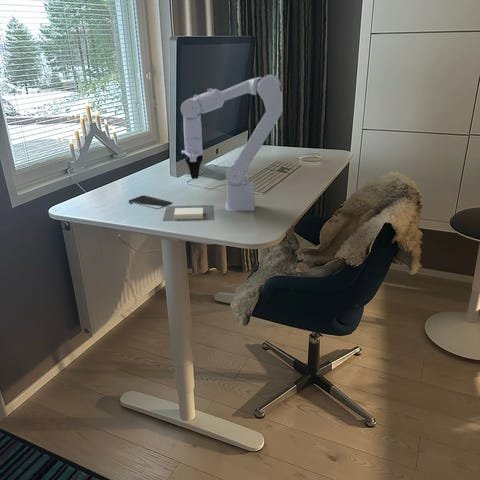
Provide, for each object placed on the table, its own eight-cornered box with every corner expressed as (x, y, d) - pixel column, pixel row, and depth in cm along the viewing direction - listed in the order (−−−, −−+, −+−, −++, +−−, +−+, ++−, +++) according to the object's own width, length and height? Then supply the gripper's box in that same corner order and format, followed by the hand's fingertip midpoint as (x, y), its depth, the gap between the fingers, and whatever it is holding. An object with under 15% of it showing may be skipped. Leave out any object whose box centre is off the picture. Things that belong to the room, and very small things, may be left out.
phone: (157, 209, 151) (127, 200, 159) (158, 212, 152) (127, 203, 160) (174, 202, 157) (143, 194, 165) (174, 205, 158) (144, 197, 166)
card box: (203, 207, 148) (202, 213, 142) (203, 212, 149) (202, 218, 143) (175, 208, 147) (173, 214, 142) (175, 212, 148) (174, 219, 143)
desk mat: (213, 206, 155) (213, 205, 155) (214, 221, 142) (214, 219, 142) (166, 207, 154) (166, 206, 154) (162, 222, 142) (162, 221, 141)
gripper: (181, 133, 153) (184, 172, 158) (179, 142, 140) (181, 184, 145) (202, 133, 153) (204, 172, 159) (202, 141, 140) (203, 184, 145)
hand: (194, 178), depth 152 cm, fingers closed
